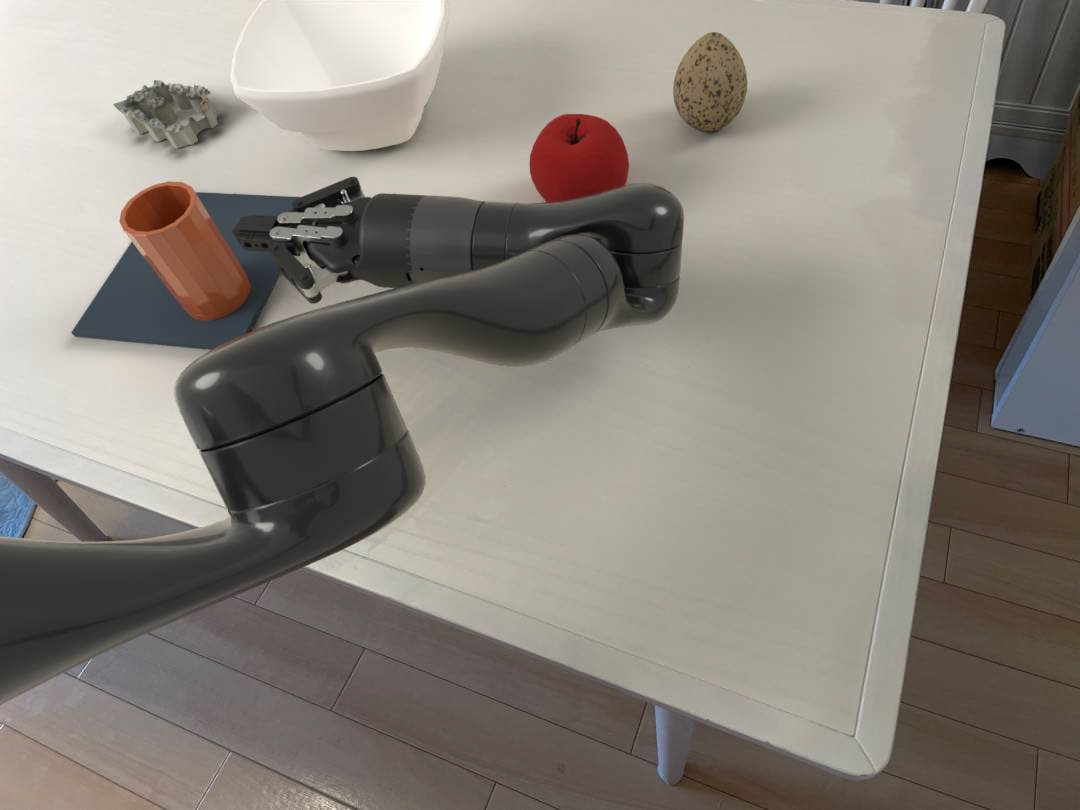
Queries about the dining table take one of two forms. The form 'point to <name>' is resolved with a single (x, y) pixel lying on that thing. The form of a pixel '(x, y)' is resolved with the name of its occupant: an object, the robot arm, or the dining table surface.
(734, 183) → the dining table surface
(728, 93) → the decorative egg
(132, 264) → the mat
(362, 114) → the bowl
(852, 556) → the dining table surface
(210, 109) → the grey jagged stone ring
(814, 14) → the dining table surface
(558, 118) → the apple
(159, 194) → the cup
